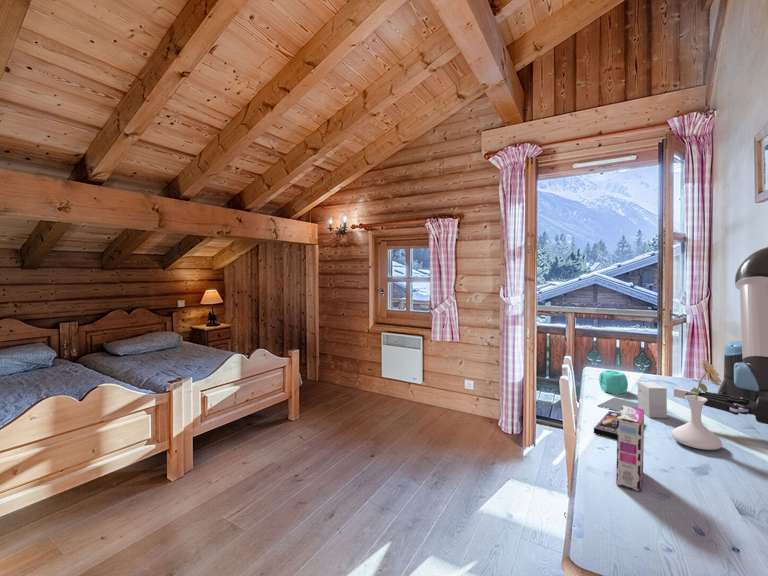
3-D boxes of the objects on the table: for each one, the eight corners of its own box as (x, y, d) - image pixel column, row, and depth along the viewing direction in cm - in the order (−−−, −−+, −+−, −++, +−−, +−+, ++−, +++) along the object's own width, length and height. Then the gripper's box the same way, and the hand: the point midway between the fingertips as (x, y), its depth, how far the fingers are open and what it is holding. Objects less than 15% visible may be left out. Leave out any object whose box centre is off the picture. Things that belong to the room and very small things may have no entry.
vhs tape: (593, 427, 113) (609, 410, 126) (593, 434, 113) (609, 417, 126) (630, 437, 106) (642, 418, 119) (630, 444, 106) (642, 424, 119)
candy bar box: (641, 493, 82) (641, 423, 81) (615, 485, 85) (615, 418, 84) (644, 471, 90) (644, 408, 90) (621, 465, 94) (621, 404, 93)
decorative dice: (606, 394, 148) (606, 375, 148) (598, 388, 156) (598, 370, 156) (628, 394, 147) (628, 375, 147) (618, 388, 155) (618, 370, 155)
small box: (667, 418, 122) (667, 388, 122) (648, 417, 124) (648, 387, 123) (654, 410, 130) (654, 381, 130) (637, 409, 131) (637, 381, 131)
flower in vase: (703, 456, 97) (704, 366, 96) (661, 438, 108) (661, 357, 107) (737, 449, 100) (737, 362, 100) (692, 432, 111) (693, 353, 111)
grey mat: (614, 398, 143) (614, 397, 143) (643, 405, 135) (643, 404, 135) (597, 406, 135) (597, 405, 135) (627, 414, 127) (627, 413, 127)
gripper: (772, 431, 98) (667, 407, 118) (780, 420, 106) (680, 398, 125) (772, 405, 98) (667, 385, 117) (780, 395, 106) (680, 377, 125)
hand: (674, 392), depth 121 cm, fingers closed
